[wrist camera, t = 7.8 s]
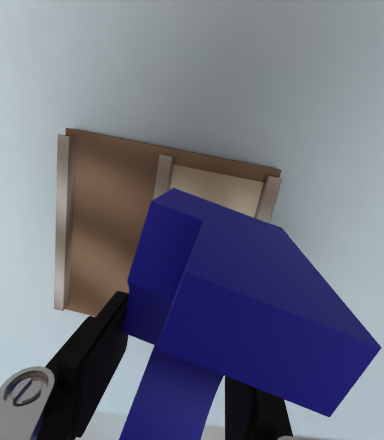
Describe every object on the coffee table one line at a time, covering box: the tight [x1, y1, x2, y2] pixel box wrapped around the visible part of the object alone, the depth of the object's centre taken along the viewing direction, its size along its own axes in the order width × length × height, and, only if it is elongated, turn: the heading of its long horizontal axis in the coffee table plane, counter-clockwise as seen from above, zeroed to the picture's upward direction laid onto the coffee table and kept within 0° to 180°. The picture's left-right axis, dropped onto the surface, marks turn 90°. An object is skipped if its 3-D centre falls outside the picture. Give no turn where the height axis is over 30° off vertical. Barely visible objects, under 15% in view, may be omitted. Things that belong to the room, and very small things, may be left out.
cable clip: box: [119, 188, 381, 440], centre depth 8 cm, size 12×4×6 cm, turn 161°
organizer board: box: [54, 128, 282, 317], centre depth 18 cm, size 15×15×2 cm
